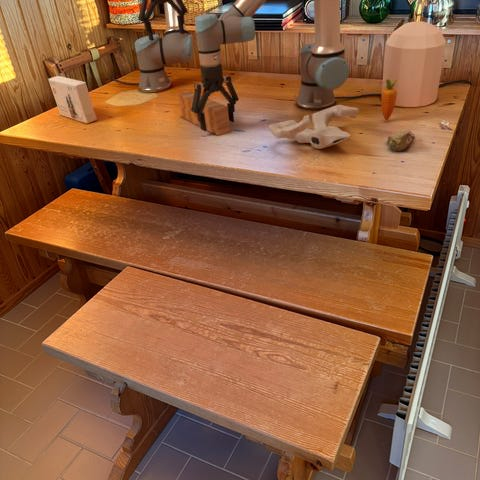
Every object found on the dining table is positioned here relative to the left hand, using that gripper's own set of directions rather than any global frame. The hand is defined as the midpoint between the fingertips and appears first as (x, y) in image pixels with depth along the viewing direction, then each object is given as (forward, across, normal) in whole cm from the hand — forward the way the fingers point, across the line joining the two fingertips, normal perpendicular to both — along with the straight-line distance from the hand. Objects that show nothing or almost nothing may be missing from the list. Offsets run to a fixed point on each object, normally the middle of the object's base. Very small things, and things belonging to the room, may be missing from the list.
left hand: (166, 36), depth 183 cm
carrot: (+28, +46, -74) cm, 92 cm away
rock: (+28, +33, -92) cm, 102 cm away
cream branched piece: (+28, +15, -74) cm, 81 cm away
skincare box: (+28, -38, +20) cm, 51 cm away
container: (+28, +70, -64) cm, 99 cm away
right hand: (+26, -2, -37) cm, 45 cm away
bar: (+28, -2, -27) cm, 39 cm away
